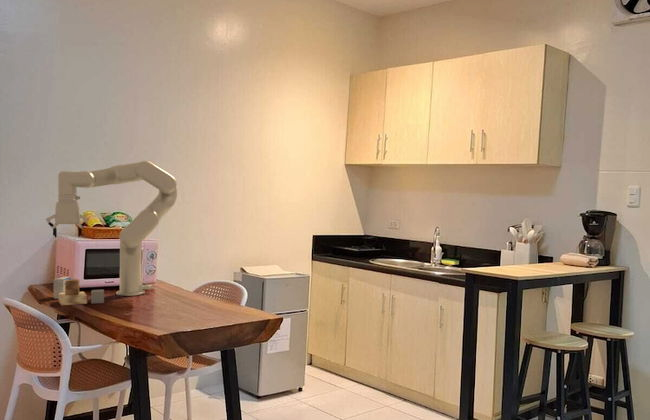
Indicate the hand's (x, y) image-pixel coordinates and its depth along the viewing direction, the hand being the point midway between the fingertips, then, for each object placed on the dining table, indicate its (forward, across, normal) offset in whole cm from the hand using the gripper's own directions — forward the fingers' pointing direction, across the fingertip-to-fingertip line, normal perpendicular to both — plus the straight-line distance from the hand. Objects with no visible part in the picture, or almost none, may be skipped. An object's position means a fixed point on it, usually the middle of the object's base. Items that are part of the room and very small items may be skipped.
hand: (67, 237), depth 261 cm
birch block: (+27, -2, +16) cm, 32 cm away
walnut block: (+23, -2, +16) cm, 28 cm away
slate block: (+27, -12, +19) cm, 35 cm away
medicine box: (+27, +2, +1) cm, 27 cm away
